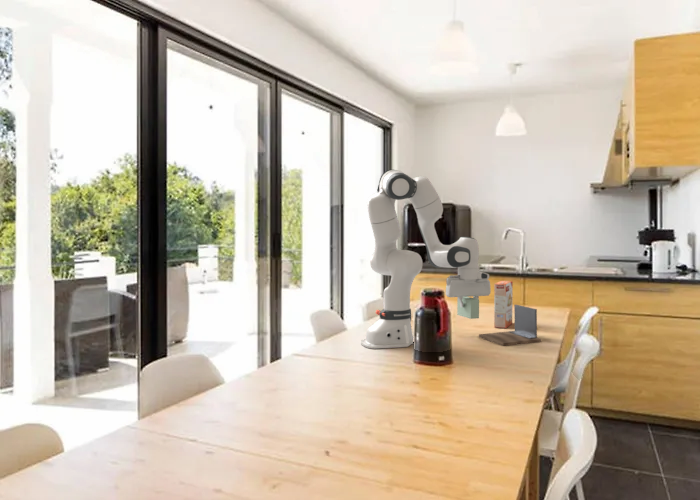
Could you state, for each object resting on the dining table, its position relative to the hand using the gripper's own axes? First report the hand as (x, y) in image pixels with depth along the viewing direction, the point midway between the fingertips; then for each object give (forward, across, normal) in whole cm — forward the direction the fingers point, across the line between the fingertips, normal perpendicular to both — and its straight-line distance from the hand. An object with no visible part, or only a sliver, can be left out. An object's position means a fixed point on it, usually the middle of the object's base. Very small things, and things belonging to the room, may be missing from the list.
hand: (468, 306), depth 224 cm
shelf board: (+13, +14, -10) cm, 21 cm away
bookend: (+12, +20, -10) cm, 25 cm away
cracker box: (+13, +29, +16) cm, 35 cm away
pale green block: (+4, 0, 0) cm, 4 cm away
